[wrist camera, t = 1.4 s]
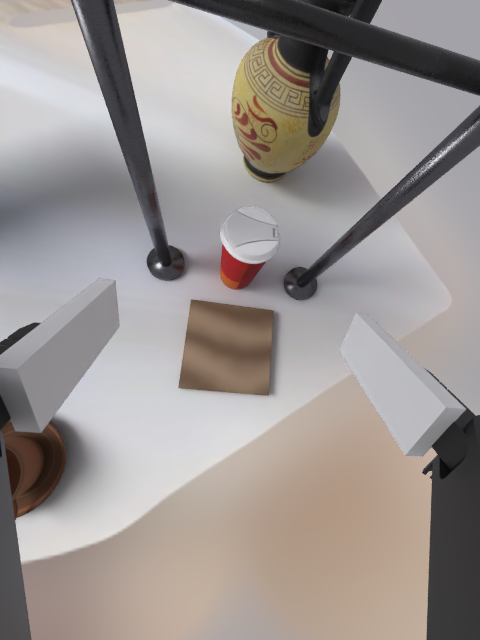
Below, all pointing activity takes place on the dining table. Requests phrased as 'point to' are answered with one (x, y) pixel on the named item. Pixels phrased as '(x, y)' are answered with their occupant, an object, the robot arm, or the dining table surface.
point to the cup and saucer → (33, 465)
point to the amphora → (289, 96)
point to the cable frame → (308, 26)
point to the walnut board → (227, 349)
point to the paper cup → (247, 245)
